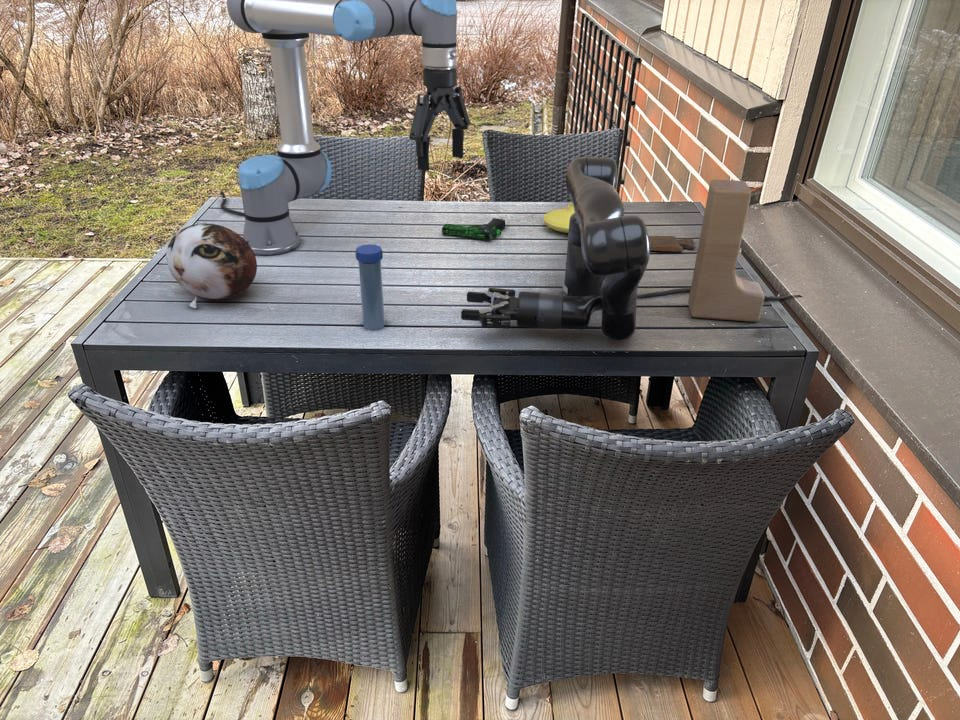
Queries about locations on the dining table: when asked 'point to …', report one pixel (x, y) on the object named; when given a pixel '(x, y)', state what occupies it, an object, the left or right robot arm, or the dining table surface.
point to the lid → (369, 253)
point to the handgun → (476, 230)
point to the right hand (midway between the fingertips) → (464, 305)
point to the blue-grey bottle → (372, 295)
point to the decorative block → (723, 258)
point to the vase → (559, 219)
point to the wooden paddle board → (669, 243)
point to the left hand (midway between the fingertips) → (441, 163)
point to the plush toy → (211, 261)
